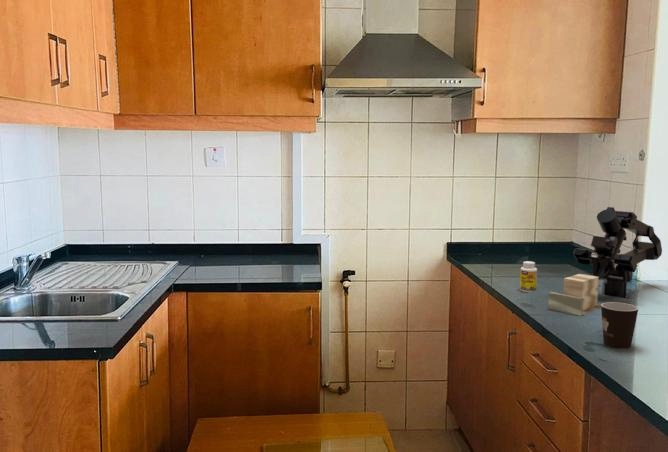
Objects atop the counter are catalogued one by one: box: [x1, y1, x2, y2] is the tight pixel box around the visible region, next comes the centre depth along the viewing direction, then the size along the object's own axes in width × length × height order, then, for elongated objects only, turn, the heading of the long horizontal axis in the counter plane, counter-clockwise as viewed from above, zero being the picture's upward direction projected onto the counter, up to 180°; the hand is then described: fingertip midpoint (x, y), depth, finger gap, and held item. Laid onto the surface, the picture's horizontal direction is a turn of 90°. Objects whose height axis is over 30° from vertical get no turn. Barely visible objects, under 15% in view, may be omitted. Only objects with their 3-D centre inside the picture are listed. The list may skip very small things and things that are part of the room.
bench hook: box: [547, 291, 601, 317], centre depth 186 cm, size 16×10×6 cm, turn 132°
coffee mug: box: [600, 301, 639, 350], centre depth 157 cm, size 12×9×10 cm
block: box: [562, 273, 599, 310], centre depth 186 cm, size 10×6×9 cm, turn 132°
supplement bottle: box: [519, 260, 538, 293], centre depth 212 cm, size 6×6×10 cm
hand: (594, 280), depth 192 cm, fingers closed
